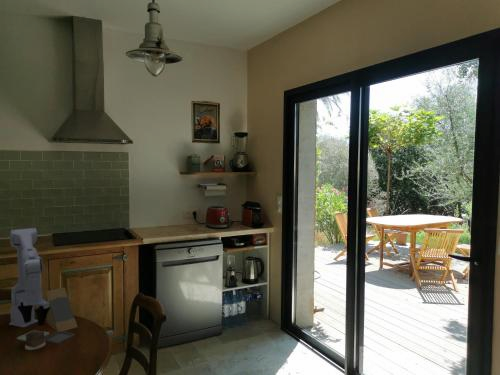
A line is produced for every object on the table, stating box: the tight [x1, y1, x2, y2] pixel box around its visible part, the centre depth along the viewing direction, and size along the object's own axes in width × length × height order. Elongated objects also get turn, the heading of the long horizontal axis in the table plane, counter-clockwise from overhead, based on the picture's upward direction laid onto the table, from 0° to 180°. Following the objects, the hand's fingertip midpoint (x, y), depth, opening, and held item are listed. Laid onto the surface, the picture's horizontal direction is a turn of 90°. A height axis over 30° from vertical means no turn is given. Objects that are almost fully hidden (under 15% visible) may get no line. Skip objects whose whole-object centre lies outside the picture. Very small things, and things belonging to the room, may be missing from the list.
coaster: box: [24, 341, 46, 351], centre depth 152 cm, size 7×7×1 cm
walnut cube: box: [25, 329, 45, 347], centre depth 151 cm, size 4×4×5 cm
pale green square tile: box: [16, 329, 50, 342], centre depth 160 cm, size 8×8×1 cm
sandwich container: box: [44, 287, 78, 333], centre depth 171 cm, size 9×15×15 cm, turn 45°
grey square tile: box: [44, 331, 76, 345], centre depth 158 cm, size 8×8×1 cm
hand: (34, 323), depth 151 cm, fingers open, 7 cm apart
